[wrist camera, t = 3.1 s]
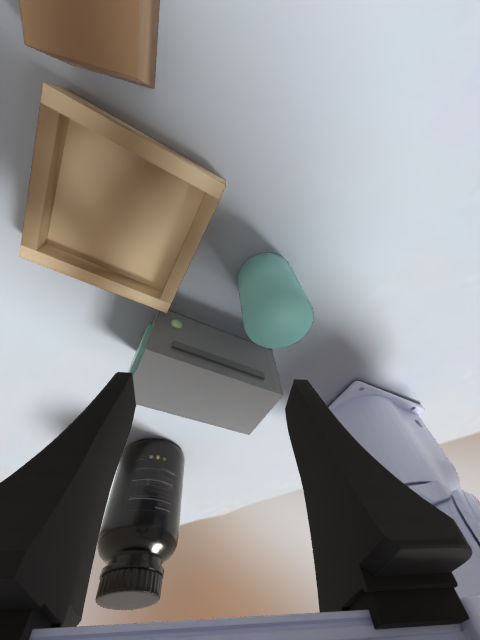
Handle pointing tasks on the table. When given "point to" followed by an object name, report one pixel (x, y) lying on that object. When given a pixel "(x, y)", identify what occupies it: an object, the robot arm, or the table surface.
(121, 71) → the walnut block
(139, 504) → the supplement bottle
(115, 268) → the birch tray
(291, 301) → the teal peg
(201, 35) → the table surface
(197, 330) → the gray block
